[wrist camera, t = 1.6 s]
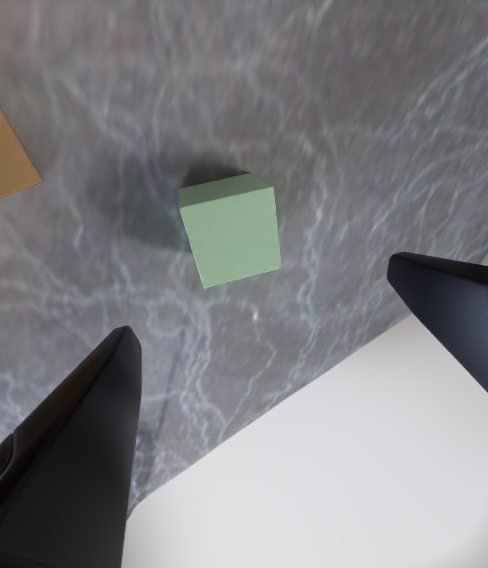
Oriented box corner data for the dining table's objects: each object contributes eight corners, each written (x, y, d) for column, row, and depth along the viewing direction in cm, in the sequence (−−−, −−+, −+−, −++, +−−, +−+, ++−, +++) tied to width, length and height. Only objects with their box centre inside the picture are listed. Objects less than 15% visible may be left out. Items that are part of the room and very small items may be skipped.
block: (259, 239, 20) (281, 268, 16) (198, 255, 19) (203, 288, 15) (250, 172, 17) (273, 185, 13) (178, 188, 17) (178, 207, 12)
